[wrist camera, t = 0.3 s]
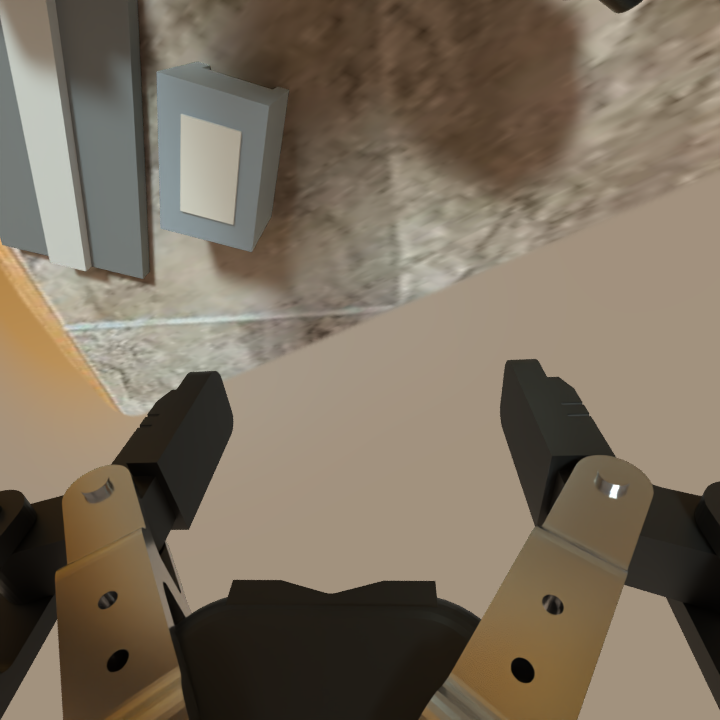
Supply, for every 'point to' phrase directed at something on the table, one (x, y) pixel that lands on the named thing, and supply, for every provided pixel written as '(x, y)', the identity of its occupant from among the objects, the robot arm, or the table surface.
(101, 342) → the table surface
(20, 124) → the rail mount
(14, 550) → the robot arm
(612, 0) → the pneumatic valve
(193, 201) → the rail module
